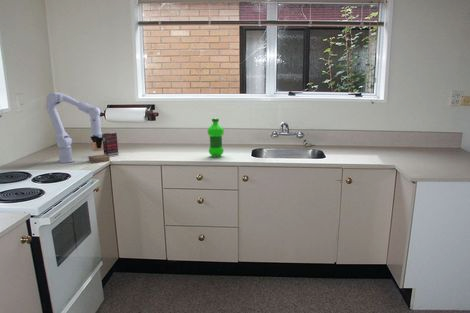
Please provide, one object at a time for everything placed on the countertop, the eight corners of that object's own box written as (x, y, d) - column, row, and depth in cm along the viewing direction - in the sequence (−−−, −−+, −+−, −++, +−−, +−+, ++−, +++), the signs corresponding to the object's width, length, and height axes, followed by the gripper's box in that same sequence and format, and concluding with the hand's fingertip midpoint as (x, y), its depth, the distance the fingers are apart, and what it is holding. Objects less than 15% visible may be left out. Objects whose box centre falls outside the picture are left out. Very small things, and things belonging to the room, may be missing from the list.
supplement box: (115, 154, 270) (113, 132, 267) (118, 155, 267) (116, 132, 264) (103, 156, 264) (101, 133, 261) (106, 157, 261) (104, 133, 258)
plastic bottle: (206, 157, 254) (204, 119, 249) (212, 154, 264) (211, 117, 259) (220, 158, 251) (219, 119, 246) (226, 155, 260) (225, 118, 256)
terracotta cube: (92, 150, 248) (91, 142, 247) (100, 149, 251) (99, 141, 250) (95, 151, 244) (94, 143, 243) (102, 150, 247) (102, 142, 246)
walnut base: (88, 160, 250) (88, 156, 249) (104, 158, 256) (104, 154, 255) (93, 163, 242) (93, 158, 241) (109, 161, 248) (109, 156, 247)
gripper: (106, 126, 241) (107, 148, 244) (98, 125, 252) (100, 145, 255) (94, 127, 237) (96, 149, 239) (87, 125, 248) (89, 146, 251)
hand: (97, 147), depth 247 cm, fingers closed on terracotta cube, 5 cm apart
